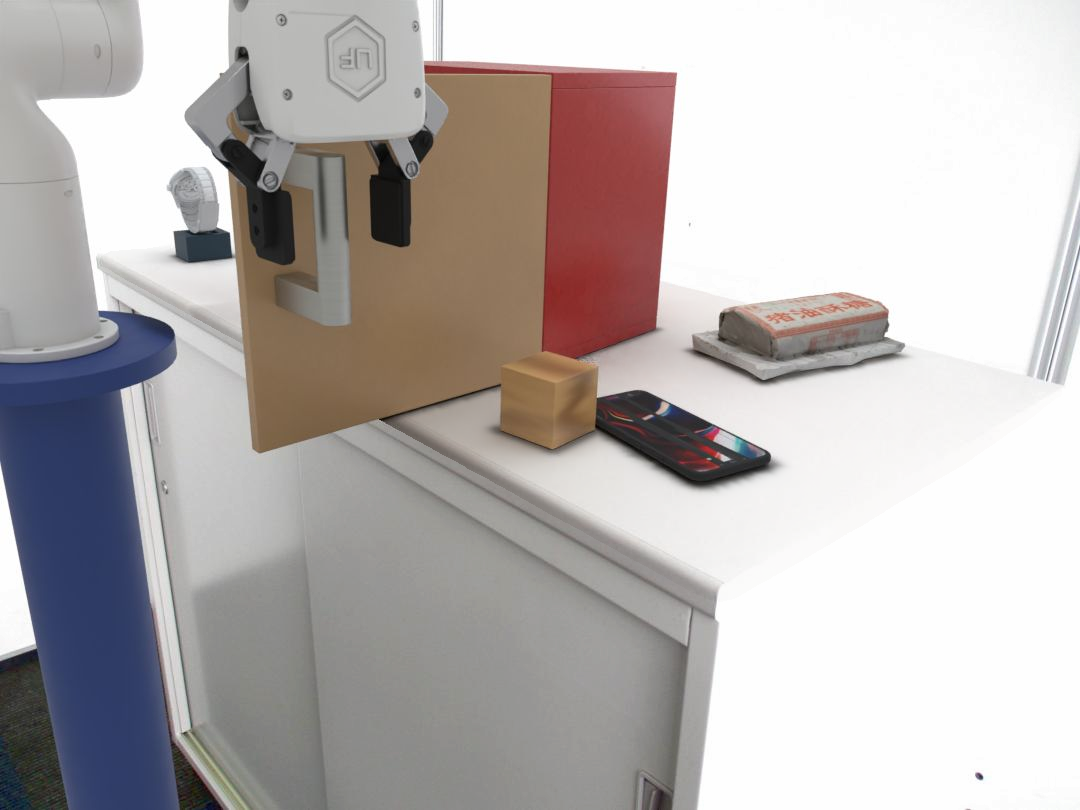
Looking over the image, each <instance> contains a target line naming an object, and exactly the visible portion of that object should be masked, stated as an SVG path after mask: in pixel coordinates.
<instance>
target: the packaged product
mask: <svg viewBox="0 0 1080 810" xmlns="http://www.w3.org/2000/svg"><path fill="white" fill-rule="evenodd" d="M889 314H890V310H889V308H888V307H886V305H884V304H883V302H881V301H879V300H875V299H872V298H869V297H865V296H862V295H860V294H859V295H858V294H855V293H850V292H846V291H845V292H843V291H839V292H832V293H824V294H815V295H806V296H799V297H793V298H786V299H778V300H771V301H764V302H762V301H761V302H756V303H749V304H742V305H734V306H730V307H727V308H724V309H723V310H722V311H721V312H720V313H719V316H718V329H715V330H710V331H709V330H707V331H704V332H695V333H692V334H691V339H692V350H695V351H698V352H701V353H702V354H706V355H708V356H710V357H713V358H716V359H718V360H721V361H723V362H726V363H728V364H731V365H734V366H736V367H738V368H741V369H743V370H745V371H747V372H749V373H750V374H752V375H754V376H755V377H757V378H759V379H760V380H762V381H766V380H769V379H773V378H776V377H780V376H783V375H787V374H789V373H795V372H802V371H808V370H814V369H821V368H829V367H833V366H835V367H836V366H852V365H855V364H857V363H859V362H862V361H863V360H867V359H873V358H876V357H883V356H886V355H892V354H896V353H901V352H902V351H903V350H904V349H905V347H906V343H905V342H901V341H899V340H896V339H894V338H891V337H889V336H885V335H886V333H888V332H889V327H890V322H889Z"/></svg>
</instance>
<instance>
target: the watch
mask: <svg viewBox="0 0 1080 810" xmlns="http://www.w3.org/2000/svg"><path fill="white" fill-rule="evenodd" d="M166 190H167V192H170V194H171V195H172V197H173V200H174V203H175V205H176V208H177V209H179V211H180V214H181V217H182V219H183V223H184V224H185V227H186V228H187V229H181V230H173V241H174V248H175V250H174V251H175V257H177V258H179V259H181V260H183V261H185V262H187V263H196V262H203V261H212V260H213V261H214V260H221V259H230V258H233V252H232V251H233V250H232V240H231V239H232V238H231V232H229V231H228V230H224V229H222V228H220V227H218V223H219V221H220V219H219V215H220V203H219V199H218V191H217V186H216V182H215V179H214V177H213V174H212V172H211V171H210V170H209V168H207V167H206V166H196V167H195V166H188V167H182V168H180V169H179V170H178V171H176V172H175V173H174V174H173V175H172V176H171V177H170V179H169V181H168V184H166Z"/></svg>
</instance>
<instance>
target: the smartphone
mask: <svg viewBox="0 0 1080 810" xmlns="http://www.w3.org/2000/svg"><path fill="white" fill-rule="evenodd" d="M595 426H598V427H599V428H601V429H603V430H604V431H606V432H608V433H609V434H611V435H613V436H615V437H616V438H618V439H619V440H621V441H624V442H625V443H627V444H628V445H631V446H632V447H634V448H635V449H637V450H639V451H641V452H643V453H645V454H646V455H647V456H650V457H651V458H653V459H654V460H656V461H658V462H660V463H662V464H663V465H664V466H667V467H668V468H670V469H672V470H674V471H675V472H677V473H679V474H680V475H682V476H684V477H685V478H687V479H689V480H692V481H695V482H706V481H711V480H715V479H718V478H721V477H726V476H729V475H732V474H736V473H739V472H743V471H747V470H750V469H754V468H757V467H761V466H765V465H767V464H769V463H770V461H771V460H772V455H771V452H770V451H768V450H767V449H766V448H763V447H761V446H758V445H756V444H755V443H753V442H751V441H749V440H747V439H744V438H742V437H741V436H738V435H736V434H734V433H733V432H730V431H729V430H726V429H724V428H723V427H720V426H719V425H716V424H714V423H712V422H710V421H708V420H706V419H704V418H703V417H699V416H698V415H695V414H694V413H691V412H690V411H687V410H686V409H684V408H681V407H679V406H677V405H676V404H674V403H671V402H669V401H667V400H665V399H664V398H661V397H659V396H657V395H655V394H653V393H651V392H649V391H647V390H642V389H633V390H627V391H623V392H618V393H613V394H609V395H604V396H599V397H598V396H597V404H596V420H595Z"/></svg>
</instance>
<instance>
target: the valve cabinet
mask: <svg viewBox="0 0 1080 810" xmlns="http://www.w3.org/2000/svg"><path fill="white" fill-rule="evenodd" d="M424 74H545V75H551V101H550V129H549V157H548V185H547V213H546V242H545V270H544V298H543V326H542V352H544V351H548V352H551V353H554V354H558V355H561V356H565V357H568V358H572V359H577V358H581V357H582V356H585V355H587V354H591V353H593V352H596V351H599V350H601V349H604V348H608V347H610V346H613V345H616V344H619V343H621V342H624V341H626V340H629V339H631V338H635V337H637V336H640V335H643V334H645V333H648V332H651V331H654V330H656V329H657V322H658V321H657V320H658V310H659V299H660V298H659V296H660V284H661V272H662V261H663V260H662V259H663V247H664V236H665V224H666V211H667V199H668V188H669V187H668V185H669V174H670V163H671V162H670V161H671V151H672V150H671V149H672V137H673V128H674V127H673V124H674V114H675V102H676V89H677V80H678V72H673V71H655V70H654V71H653V70H638V69H637V70H636V69H619V68H617V69H616V68H599V67H582V66H581V67H580V66H565V65H564V66H561V65H543V64H525V63H524V64H523V63H508V62H488V61H467V60H465V61H464V60H462V61H461V60H424Z"/></svg>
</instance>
